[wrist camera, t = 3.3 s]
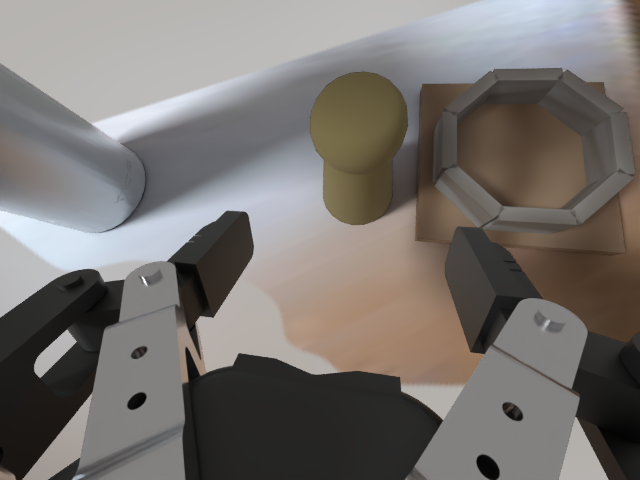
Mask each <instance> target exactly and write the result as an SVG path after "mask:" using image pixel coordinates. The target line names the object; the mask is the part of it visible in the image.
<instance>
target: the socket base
mask: <svg viewBox="0 0 640 480" xmlns="http://www.w3.org/2000/svg"><path fill="white" fill-rule="evenodd" d="M623 109H624V108H622V107H621V106H620V105H618V104H617V103H615V102H614V101H612V100H611V99H609V98H608V97H606V96H605V89H604V82H589V83H586V82H585V81H583V80H582V79H580V78H579V77H577V76H576V75H574V74H573V73H571V72H570V71H569V70H566V71H565V72H564V73H563V71H562V68H541V69H495V70H494V71H493V72H491V71H489V72H488V73H487V74H486V75H484V76H483V77H482V78H481V79H480V80H478V81H477V82H476V83H475V84H423V85H422V88H421V92H420V115H419V145H418V174H417V204H416V234H415V241H425V242H439V243H451V242H452V239H453V235H454V232H455V230H456V228H457V227H458V226H461V227H476V228H482V229H483V230H484V232H485V234H486V235H487V237H488V238H489V240H490V241H491V242H494V243H498V244H499V245H500V246H502V247H507V248H521V249H535V250H549V251H562V252H576V253H590V254H603V255H616V254H622V253H626V252H625V244H624V236H623V229H622V221H621V213H620V205H619V198H618V192H619V191H620V190H621V189H622V188H624V187H625V186H626V185H627V184H628V183H629V182H631V181H632V180H633V179H634V178H632V177H631V176H633V175H635V167H634V160H633V153H632V146H631V139H630V132H629V125H628V119H627V112H620V111H621V110H623Z"/></svg>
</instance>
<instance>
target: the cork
mask: <svg viewBox="0 0 640 480" xmlns="http://www.w3.org/2000/svg"><path fill="white" fill-rule="evenodd" d="M407 127H408V117H407V105H406V103H405V101H404V98H403V96H402V94H401V92H400V91H399V90H398V89H397V88H396V87H395V86H394V85H393V84H392V83H391V82H390V81H389V80H388V79H386V78H384V77H382V76H380V75H378V74H374V73H369V72H355V73H349V74H346V75H343V76H341V77H338V78H337V79H335V80H334V81H332V82H331V83H329V84H328V85H327V86H326V87H325V88H324V90H323V91H322V92H321V93H320V95H319V96H318V97H317V99H316V101H315V103H314V106H313V108H312V111H311V117H310V134H311V137H312V140H313V143H314V146H315V149H316V151H317V152H318V153H319V155H320V156H321V157H322V158H323V160H324V174H323V199H324V202H325V205H326V208H327V209H328V211H329V212H330V213H331V214H332V216H333V217H335V218H336V219H338V220H339V221H341V222H344V223H347V224H351V225H364V224H367V223H370V222H373V221H375V220H376V219H378V218H379V217H380V216H382V215H383V214H384V213H385V211H386V210H387V208H388V207H389V206H390V202H391V199H392V196H393V190H392V158H393V157H394V155H395V154H396V153H397V151H398V150H399V149H400V147H401V146H402V143H403V140H404V137H405V134H406V131H407Z"/></svg>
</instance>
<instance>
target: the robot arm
mask: <svg viewBox="0 0 640 480" xmlns="http://www.w3.org/2000/svg"><path fill="white" fill-rule="evenodd" d="M144 187H145V171H144V167H143V164H142V162H141V161H140V159H139V157H138V156H137V155H135V154H134V153H133V152H132V151H131V150H129V149H128V148H126V147H125V146H123V145H122V144H120V143H119V142H117V141H116V140H114V139H113V138H111V137H110V136H108V135H107V134H105V133H104V132H102V131H101V130H99V129H98V128H97V127H95V126H94V125H92V124H91V123H89V122H87V121H86V120H85V119H83V118H81V117H80V116H79V115H77V114H76V113H74V112H73V111H71V110H69V109H68V108H66V107H65V106H64V105H62V104H61V103H59V102H58V101H56V100H55V99H53V98H52V97H50V96H49V95H47V94H46V93H44V92H43V91H41V90H40V89H38V88H37V87H35V86H34V85H32V84H31V83H29V82H28V81H26V80H25V79H23V78H22V77H20V76H19V75H17V74H16V73H14V72H13V71H11V70H10V69H8V68H7V67H5V66H4V65H2V64H1V63H0V210H1V211H5V212H9V213H13V214H17V215H21V216H25V217H29V218H33V219H36V220H39V221H43V222H47V223H51V224H55V225H59V226H63V227H67V228H71V229H75V230H79V231H82V232H89V233H97V232H104V231H106V230H109V229H112V228H114V227H115V226H117V225H119V224H121V223H122V222H123V221H124V220H125V219H127V218H128V217H129V216H130V215H131V213H132V212H133V211H134V210H135V209H136V207H137V205H138V203H139V202H140V200H141V197H142V194H143V192H144ZM253 250H254V245H253V239H252V233H251V228H250V222H249V217H248V214H247V213H246V212H240V211H226V212H225V213H224V214H223V215H222V216H221V217H220V218H219V219H218V220H217V221H216V222H212V223H210V224H209V225H207V226H205V227H203V228H202V229H201V230H200V231H199V232H197V233H196V234H195V236H193V237H192V238H191V239H190V240H189V242H187V243H186V244H185V245H184V246H183V247H182V248H180V249H179V250H178V251H177V252H176V253H175V254H174V255H173V256H172V257H171V258H170V259H169V260H168V261H167V262H164V261H160V262H153V263H149V264H146V265H143V266H141V267H139V268H137V269H136V270H134V271H133V272H131V273H130V274H129V275H128V276H127V277H126V279H125V280H119V281H110V282H104V280H103V279H102V277H101V275H100V274H99V272H98V271H96V270H93V269H83V270H77V271H74V272H70V273H68V274H65V275H63V276H61V277H58V278H57V279H55V280H53V281H52V282H50V283H49V284H47V285H46V286H44V287H43V288H42V289H40V290H39V291H37V292H36V293H35V294H33V295H32V296H30V297H29V298H28V299H26V300H25V301H23V302H22V303H20V304H19V305H18V306H16V307H15V308H14V309H12V310H11V311H9V312H8V313H6V314H5V315H4V316H2V317H1V318H0V480H22V479H23V478H24V477H25V475H26V474H27V473H28V472H29V471H30V469H31V468H32V467H33V465H34V464H35V463H36V462H37V461H38V459H39V458H40V457H41V456H42V454H43V453H44V452H45V451H46V449H47V448H48V447H49V446H50V444H51V443H52V442H53V440H54V439H55V438H56V437H57V436H58V434H59V433H60V432H61V431H62V430H63V428H64V427H65V426H66V425H67V423H68V422H69V421H70V420H71V418H72V417H73V416H74V415H75V413H76V412H77V411H78V409H79V408H80V407H81V406H82V405H83V403H84V402H85V401H86V400H87V398H88V397H89V396H90V395H91V393H92V392H93V393H92V399H91V404H90V409H89V415H88V420H87V426H86V431H85V436H84V441H83V446H82V452H81V457H80V458H79V459H77V460H76V461H74V462H73V463H72V464H70V465H69V466H67V467H66V468H64V469H63V470H62V471H60V472H59V473H57V474H56V475H54V476H53V477H51V478H50V479H48V480H559V476H560V472H561V469H562V465H563V461H564V457H565V453H566V449H567V446H568V442H569V438H570V434H571V430H572V427H573V423H574V419H575V417H577V418H578V421H579V422H580V425H581V426H582V428H583V430H584V432H585V434H586V436H587V438H588V440H589V442H590V444H591V446H592V447H593V450H594V452H595V454H596V456H597V458H598V459H599V462H600V463H601V465H602V467H603V469H604V471H605V473H606V475H607V477H608V479H609V480H640V332H638V333H637V334H635V335H634V336H633V337H632V338H631V340H630V341H629V342H628V343H624V342H621V341H618V340H615V339H611V338H608V337H605V336H602V335H598V334H595V333H592V332H589V331H587V329H586V327H585V325H584V324H583V322H582V321H581V320H580V319H579V318H578V317H577V316H576V315H575V314H573V313H572V312H570V311H569V310H567V309H566V308H564V307H562V306H560V305H558V304H555V303H553V302H550V301H547V300H543V298H542V297H541V295H540V294H539V293H538V291H537V290H536V288H535V287H534V286H533V284H532V283H531V281H530V280H529V279H528V277H527V276H526V275H525V273H524V272H522V269H521V268H520V266H519V265H518V264H516V261H515V259H514V258H513V256H512V255H511V254H510V252H509V251H507V250H506V249H505V248H503V247H502V246H500V245H499V244H498V243H494V242H491V241H490V240H489V238H488V237H487V235H486V234H485V232H484V230H483V229H482V228H476V227H461V226H458V227H457V228H456V230H455V232H454V235H453V239H452V242H451V245H450V249H449V252H448V256H447V259H446V263H445V277H446V280H447V283H448V286H449V289H450V292H451V295H452V298H453V301H454V304H455V307H456V310H457V313H458V316H459V319H460V322H461V325H462V328H463V331H464V334H465V337H466V340H467V343H468V346H469V349H470V352H473V353H481V354H485V355H484V356H483V358H482V360H481V361H480V363H479V364H478V366H477V368H476V369H475V371H474V372H473V374H472V376H471V377H470V379H469V380H468V382H467V384H466V385H465V387H464V388H463V390H462V392H461V393H460V395H459V396H458V398H457V400H456V401H455V403H454V404H453V406H452V408H451V409H450V411H449V412H448V414H447V416H446V417H445V419H444V420H442V419H441V418H440V417H439V416H438V415H437V414H436V413H435V412H433V411H432V410H431V409H430V408H429V407H427V406H426V405H425V404H423V403H422V402H420V401H419V400H417V399H415V398H414V397H412V396H410V395H408V394H406V393H403V392H401V383H400V377H395V376H388V375H382V374H375V373H368V372H362V371H352V372H341V373H332V374H321V375H313V374H310V373H307V372H305V371H303V370H301V369H298V368H296V367H293V366H291V365H289V364H287V363H284V362H282V361H280V360H278V359H274V358H268V357H261V356H254V355H247V354H241V353H239V354H238V356H237V358H236V360H235V362H234V365H233V366H228V367H223V368H219V369H216V370H213V371H210V372H208V373H206V369H205V363H204V358H203V352H202V346H201V341H200V335H199V329H198V325H197V323H196V321H197V319H198V318H199V317H200V316H205V317H212V318H213V317H214V316H215V314H216V313H217V311H218V310H219V308H220V306H221V305H222V303H223V302H224V300H225V299H226V297H227V296H228V294H229V293H230V291H231V289H232V288H233V286H234V285H235V283H236V281H237V280H238V279H239V277H240V275H241V274H242V272H243V271H244V269H245V268H246V266H247V265H248V263H249V261H250V260H251V258H252V255H253ZM65 330H68V331H69V332H70V333H71V335H72V336H73V337H74V338H75V340H76V341H77V342H76V343H75V344H74V345H73V346H72V348H70V349H69V350H68V352H66V353H65V355H63V356H62V357H61V358H60V359H59V360H58V361H57V362H56V363H55V364H54V365H53V366H52V367H51V368H50V369H49V370H48V371H47V372H46V373H45V374H44V375H43V376H42V377H41V378H39V377H38V376H37V375H36V374H35V372H34V364H35V361H36V359H37V357H38V356H39V355H40V353H42V352H43V351H44V350H45V349H46V348H47V347H48V346H49V345H50V344H51V343H52V342H53V341H55V339H57V338H58V337H59V336H60V335H61V334H62V333H63V332H64V331H65Z"/></svg>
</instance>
